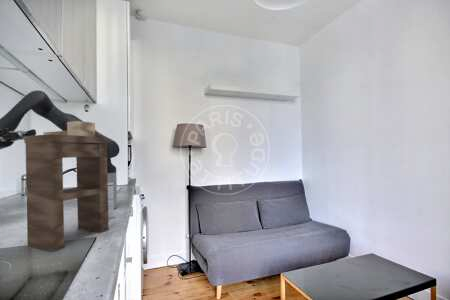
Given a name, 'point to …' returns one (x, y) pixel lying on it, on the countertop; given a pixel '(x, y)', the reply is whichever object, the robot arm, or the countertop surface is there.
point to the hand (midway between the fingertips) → (21, 131)
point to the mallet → (77, 129)
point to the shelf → (53, 187)
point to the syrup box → (110, 201)
